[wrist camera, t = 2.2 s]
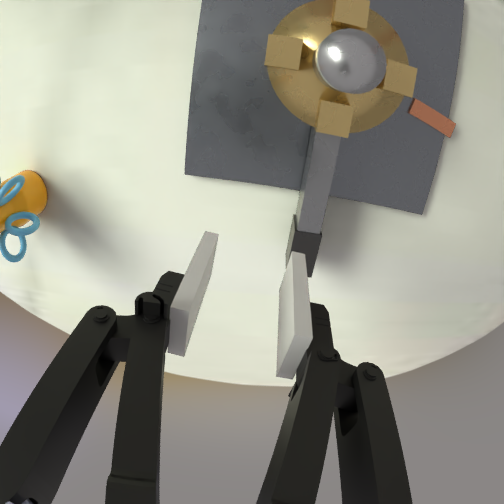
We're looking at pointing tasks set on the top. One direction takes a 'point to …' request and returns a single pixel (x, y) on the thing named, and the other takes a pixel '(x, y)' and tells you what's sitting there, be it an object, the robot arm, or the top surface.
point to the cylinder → (20, 208)
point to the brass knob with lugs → (329, 100)
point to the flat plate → (334, 77)
